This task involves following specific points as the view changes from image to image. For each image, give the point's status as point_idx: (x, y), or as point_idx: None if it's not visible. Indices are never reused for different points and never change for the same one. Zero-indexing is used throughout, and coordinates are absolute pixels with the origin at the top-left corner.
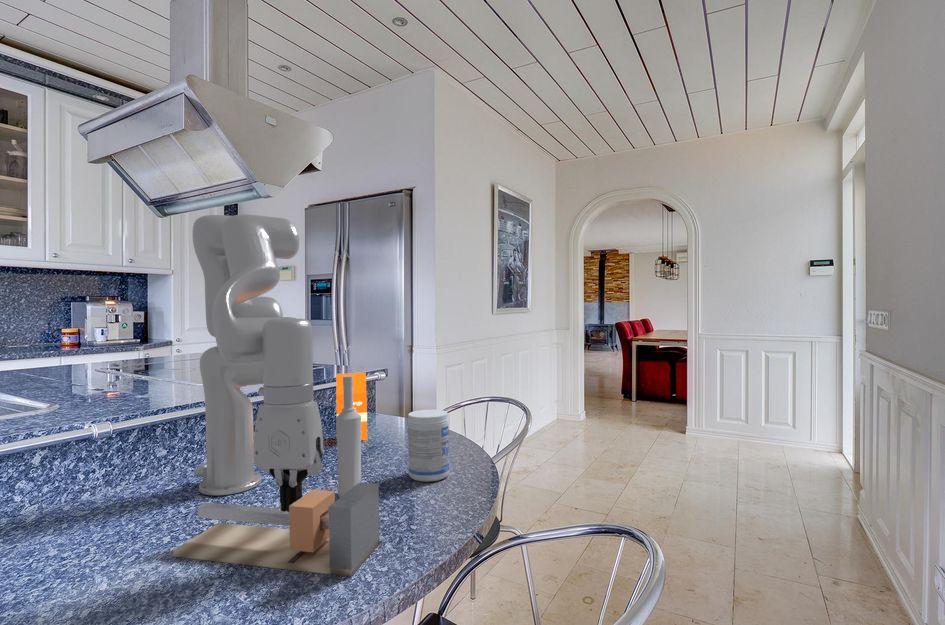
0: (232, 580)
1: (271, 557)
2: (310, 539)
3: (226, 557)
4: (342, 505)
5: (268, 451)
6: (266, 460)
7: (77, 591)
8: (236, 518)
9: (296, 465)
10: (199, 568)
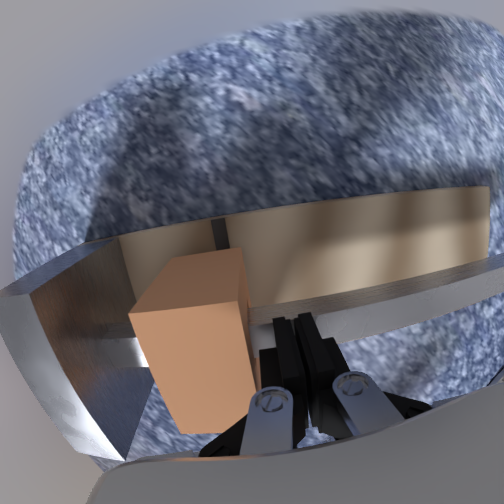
0: (317, 134)
1: (285, 223)
2: (171, 268)
3: (393, 193)
4: (10, 313)
5: (486, 502)
6: (471, 438)
7: (496, 72)
8: (446, 271)
9: (176, 481)
10: (418, 158)
